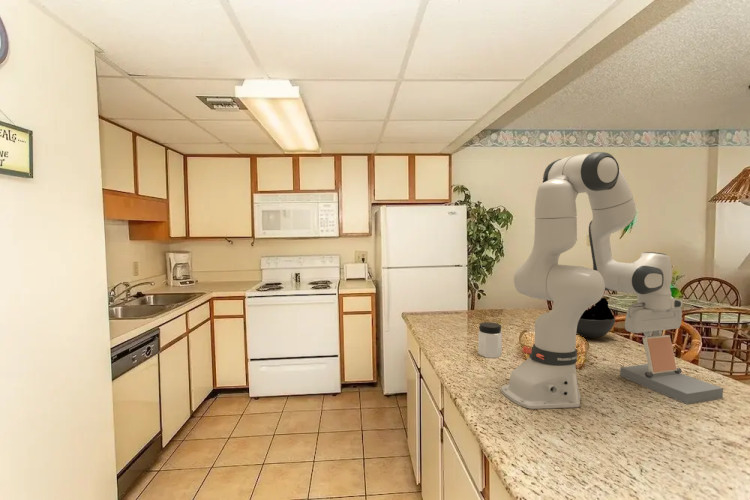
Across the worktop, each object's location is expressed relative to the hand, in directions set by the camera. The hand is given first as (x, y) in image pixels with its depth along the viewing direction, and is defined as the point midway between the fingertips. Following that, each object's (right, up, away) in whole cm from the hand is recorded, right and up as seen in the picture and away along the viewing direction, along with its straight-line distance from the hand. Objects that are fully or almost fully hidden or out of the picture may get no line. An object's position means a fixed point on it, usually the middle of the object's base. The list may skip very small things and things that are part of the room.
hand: (652, 343), depth 122 cm
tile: (0, -3, -2) cm, 3 cm away
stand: (+1, -12, -5) cm, 13 cm away
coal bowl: (+7, -10, +49) cm, 50 cm away
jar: (-45, -11, +25) cm, 53 cm away
